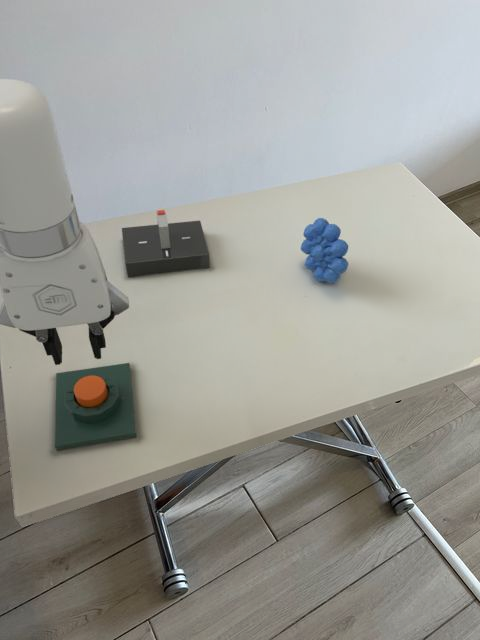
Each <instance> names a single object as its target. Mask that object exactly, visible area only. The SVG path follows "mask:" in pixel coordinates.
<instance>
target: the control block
mask: <svg viewBox="0 0 480 640" xmlns="http://www.w3.org/2000/svg"><path fill="white" fill-rule="evenodd" d="M131 371H132V370H131V365H130V362H126V363H124V362H123V363H118V364H110V365H103V366H98V367H89V368H83V369H77V370H69V371H63V372H56V374H55V409H54V410H55V411H54V412H55V413H54V414H55V415H54V419H55V420H54V448H55V450H56V452H59V451H65V450H71V449H78V448H84V447H89V446H94V445H101V444H106V443H112V442H118V441H124V440H128V439H129V440H130V439H131V440H132V439H136V438H137V437H138V435H137V424H136V414H135V413H136V412H135V404H134V403H135V402H134V391H133V381H132V372H131ZM86 376H98V377H100V378H102V379H103V380H104V381H105V384H106V388H107V391H108V395H107V398H106V400H105V401H104V402H103V403H102V404H100V405H99V406H96V407H91V408H88V407H84V406H81V405H80V404H79V403H78V401H77V399H76V396H75V394H74V386H75V384H76V383H77V382H78V381H79V380H80V379H82V378H83V377H86Z"/></svg>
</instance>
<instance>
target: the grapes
mask: <svg viewBox="0 0 480 640" xmlns="http://www.w3.org/2000/svg"><path fill="white" fill-rule="evenodd" d="M341 232H342V230H341V228H340V227H339V226H338V225H337V224H336V223H330V222H329V221H328V220H327V219H326V218H323V217H318V218H316V219H315V220H314V221H313V223H311V224H308V225H306V226H305V228H304V229H303V237H304V238H305V239H304V240H302V243H301V245H300V250H301V252H302V253H303V254H304V255H307V257H306V258H305V261H304V267H305V268H306V269H308V270H310V271H314V272H313V278H314V279H315V280H316V281H318V282H322V283H323V282H327V283H329V284H336V283H337V282H338V281H339V280H340V278H341V275H342V274H344V273H346V271H347V270H348V268H349V261H348V259H347V258H345V256H346V255H347V253H348V251H349V244H348V243H347V241H346V240H343V239H340V237H341V234H342V233H341Z"/></svg>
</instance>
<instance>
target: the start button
mask: <svg viewBox="0 0 480 640" xmlns="http://www.w3.org/2000/svg"><path fill="white" fill-rule="evenodd" d="M74 394H75V396H76V399H77V401H78V403H79V404H80V405H81V406H84V407H88V408H91V407H96V406H99V405H100V404H102V403H103V402H104V401H105V400H106V398H107V395H108V391H107V388H106V384H105V381H104V380H103V379H102V378H100V377H98V376H86V377H83V378H82V379H80V380H79V381H78V382H77V383H76V384H75V386H74Z"/></svg>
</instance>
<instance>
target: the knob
mask: <svg viewBox="0 0 480 640" xmlns="http://www.w3.org/2000/svg"><path fill="white" fill-rule="evenodd" d="M155 214H156V221H157V225H158V230H159V237H160V242H161V248H162V249H166V248H170V239H169V229H168V223H169V222H168V218H167V213H166V210H165V209H159V210H156V211H155Z"/></svg>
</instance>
